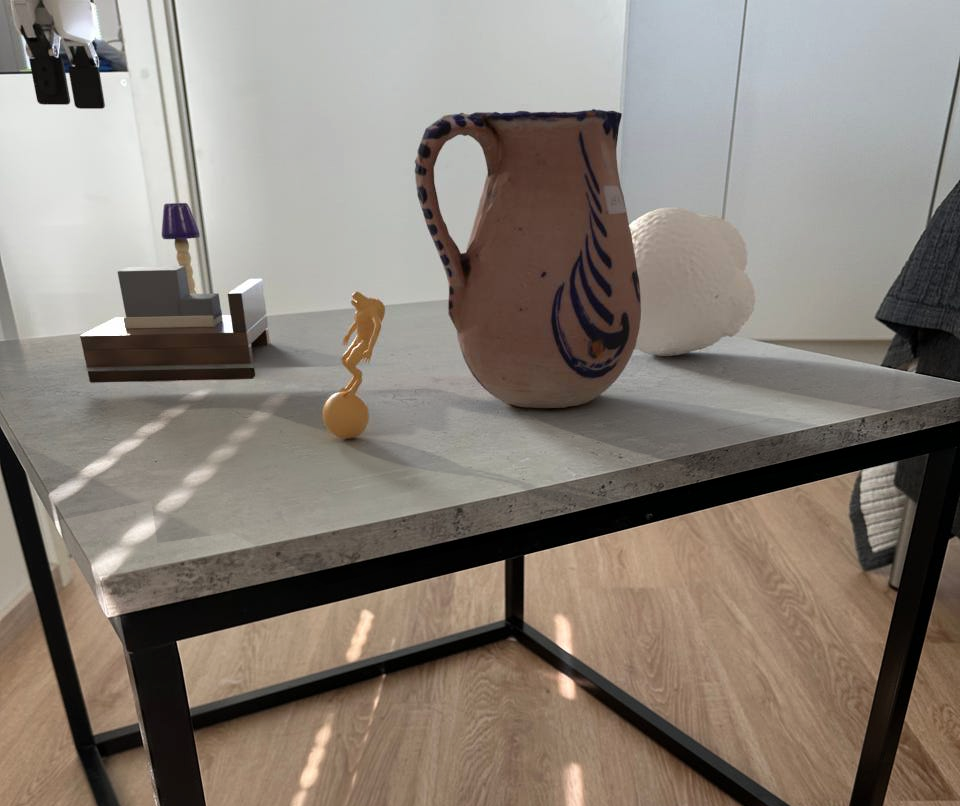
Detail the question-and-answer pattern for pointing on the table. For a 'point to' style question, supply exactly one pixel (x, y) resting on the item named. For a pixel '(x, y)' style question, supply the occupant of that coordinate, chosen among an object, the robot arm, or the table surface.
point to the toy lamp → (180, 234)
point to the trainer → (165, 299)
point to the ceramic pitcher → (540, 255)
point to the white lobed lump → (689, 281)
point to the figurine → (355, 370)
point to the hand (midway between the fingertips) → (73, 106)
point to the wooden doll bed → (182, 344)
